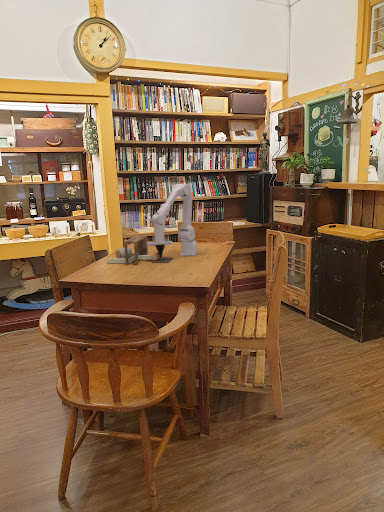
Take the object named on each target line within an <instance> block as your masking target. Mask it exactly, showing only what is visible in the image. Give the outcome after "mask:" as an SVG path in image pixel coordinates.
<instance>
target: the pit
mask: <svg viewBox="0 0 384 512" xmlns="http://www.w3.org/2000/svg"><path fill="white" fill-rule="evenodd" d="M173 258H174V257H162V258H160V257H159V259H157V260H153V259H152V261H151V263H152V264H169V263H170V262H171V261H172V260H173Z"/></svg>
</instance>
